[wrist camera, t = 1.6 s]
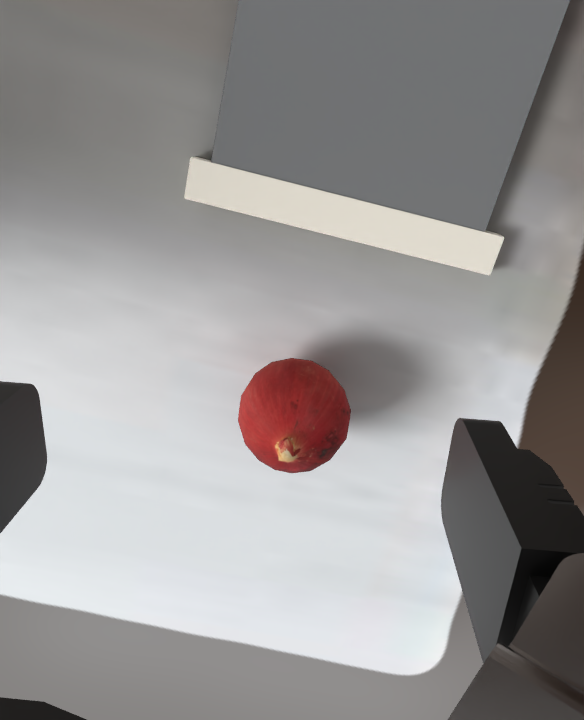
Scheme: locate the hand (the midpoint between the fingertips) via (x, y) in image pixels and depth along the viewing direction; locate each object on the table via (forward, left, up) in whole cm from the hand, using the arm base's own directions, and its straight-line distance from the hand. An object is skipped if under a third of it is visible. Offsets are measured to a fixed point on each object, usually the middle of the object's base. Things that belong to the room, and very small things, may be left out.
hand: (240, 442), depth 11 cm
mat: (+9, +4, -20) cm, 23 cm away
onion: (-5, -6, -21) cm, 22 cm away
